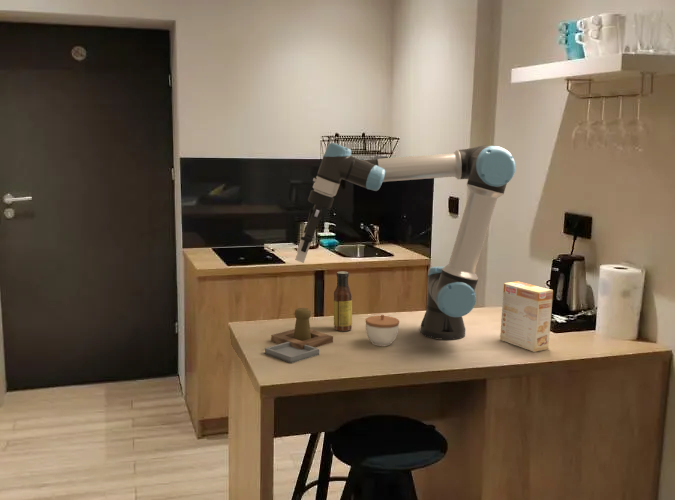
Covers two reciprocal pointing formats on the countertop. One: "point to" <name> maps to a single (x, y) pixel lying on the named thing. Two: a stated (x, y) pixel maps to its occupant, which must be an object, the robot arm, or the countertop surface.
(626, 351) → the countertop surface
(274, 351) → the tray
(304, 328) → the olive brown bulbous peg
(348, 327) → the sauce bottle
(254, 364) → the countertop surface
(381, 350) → the countertop surface
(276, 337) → the socket block
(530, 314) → the coffeecake box
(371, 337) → the lidded jar
